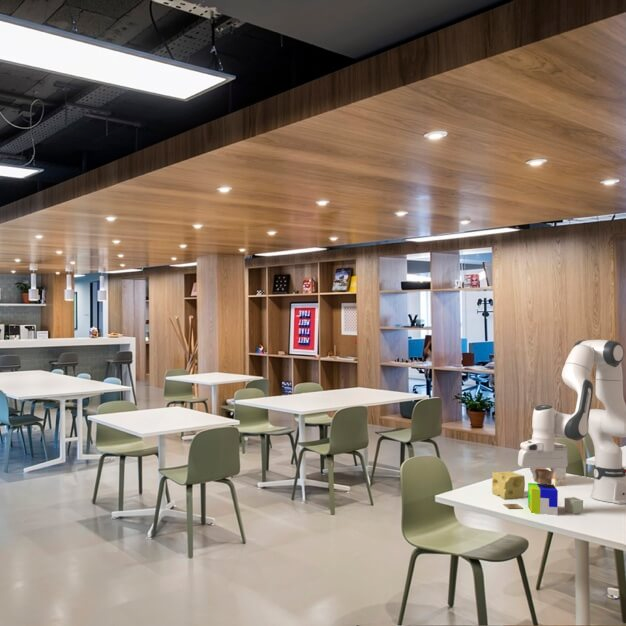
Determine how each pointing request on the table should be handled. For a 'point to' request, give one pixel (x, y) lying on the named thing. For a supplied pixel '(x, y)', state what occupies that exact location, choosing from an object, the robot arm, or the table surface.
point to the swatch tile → (512, 506)
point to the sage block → (573, 505)
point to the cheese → (508, 485)
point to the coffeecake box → (558, 474)
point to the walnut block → (543, 476)
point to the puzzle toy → (543, 499)
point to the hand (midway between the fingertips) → (542, 478)
